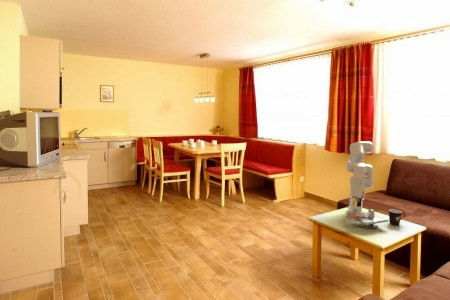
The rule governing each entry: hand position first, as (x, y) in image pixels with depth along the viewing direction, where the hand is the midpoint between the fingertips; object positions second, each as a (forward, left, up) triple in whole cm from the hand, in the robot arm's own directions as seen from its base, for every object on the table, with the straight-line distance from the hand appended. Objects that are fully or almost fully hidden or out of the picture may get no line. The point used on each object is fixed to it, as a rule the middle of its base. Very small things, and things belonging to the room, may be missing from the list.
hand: (357, 205), depth 220 cm
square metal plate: (+4, +7, -15) cm, 17 cm away
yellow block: (0, 0, -2) cm, 2 cm away
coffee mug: (+8, +31, -15) cm, 35 cm away
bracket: (+4, -6, -8) cm, 11 cm away
